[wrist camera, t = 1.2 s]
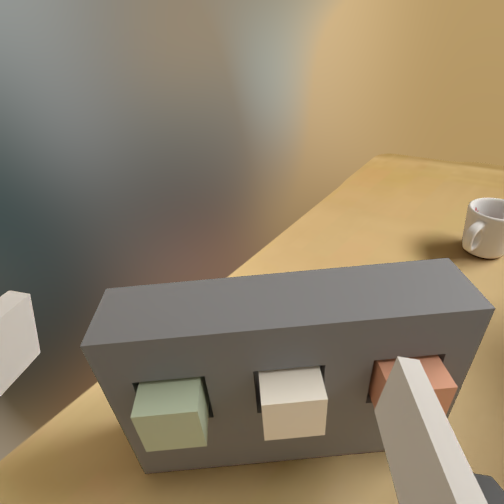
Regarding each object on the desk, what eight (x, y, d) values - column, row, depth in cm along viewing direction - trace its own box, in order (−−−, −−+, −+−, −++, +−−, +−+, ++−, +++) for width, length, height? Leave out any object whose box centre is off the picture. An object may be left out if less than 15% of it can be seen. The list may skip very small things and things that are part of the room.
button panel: (408, 391, 38) (448, 257, 28) (435, 446, 33) (495, 308, 23) (155, 414, 38) (106, 288, 28) (145, 473, 33) (80, 346, 23)
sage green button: (210, 383, 31) (202, 348, 28) (207, 446, 26) (197, 411, 24) (158, 388, 31) (146, 353, 28) (146, 451, 26) (130, 417, 24)
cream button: (310, 373, 31) (311, 338, 28) (324, 435, 26) (327, 399, 24) (259, 378, 31) (255, 343, 28) (264, 440, 26) (261, 405, 24)
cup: (483, 277, 53) (500, 232, 49) (436, 254, 59) (447, 212, 55) (520, 252, 58) (539, 209, 53) (472, 233, 64) (486, 193, 59)
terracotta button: (410, 364, 31) (421, 328, 29) (442, 424, 26) (457, 387, 24) (359, 369, 31) (365, 333, 28) (382, 429, 26) (391, 393, 24)
